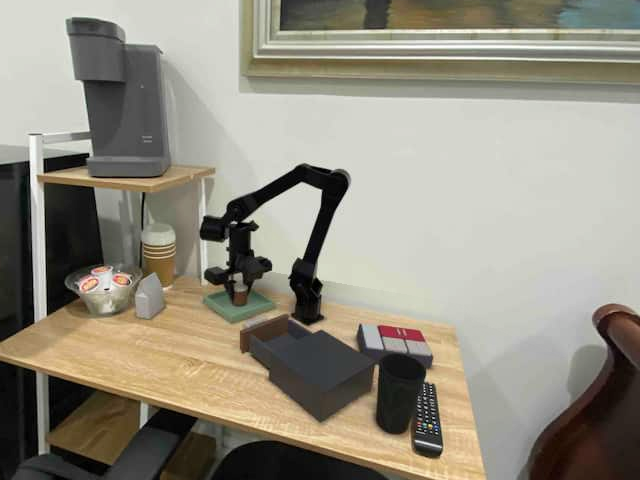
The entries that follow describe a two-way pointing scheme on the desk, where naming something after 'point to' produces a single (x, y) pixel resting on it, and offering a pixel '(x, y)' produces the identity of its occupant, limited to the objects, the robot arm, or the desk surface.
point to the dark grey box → (321, 373)
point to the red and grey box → (393, 343)
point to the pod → (240, 294)
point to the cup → (398, 391)
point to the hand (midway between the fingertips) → (239, 298)
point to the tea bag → (149, 297)
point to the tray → (238, 312)
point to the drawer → (269, 336)
